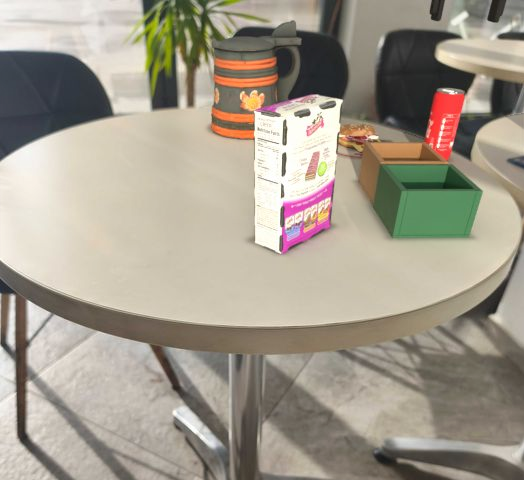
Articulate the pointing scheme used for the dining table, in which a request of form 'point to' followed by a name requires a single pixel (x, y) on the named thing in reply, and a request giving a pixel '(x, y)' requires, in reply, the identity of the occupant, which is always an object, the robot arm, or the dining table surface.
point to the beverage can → (444, 120)
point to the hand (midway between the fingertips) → (464, 21)
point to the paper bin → (392, 160)
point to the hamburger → (357, 136)
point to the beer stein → (250, 79)
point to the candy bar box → (294, 169)
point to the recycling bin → (426, 201)
